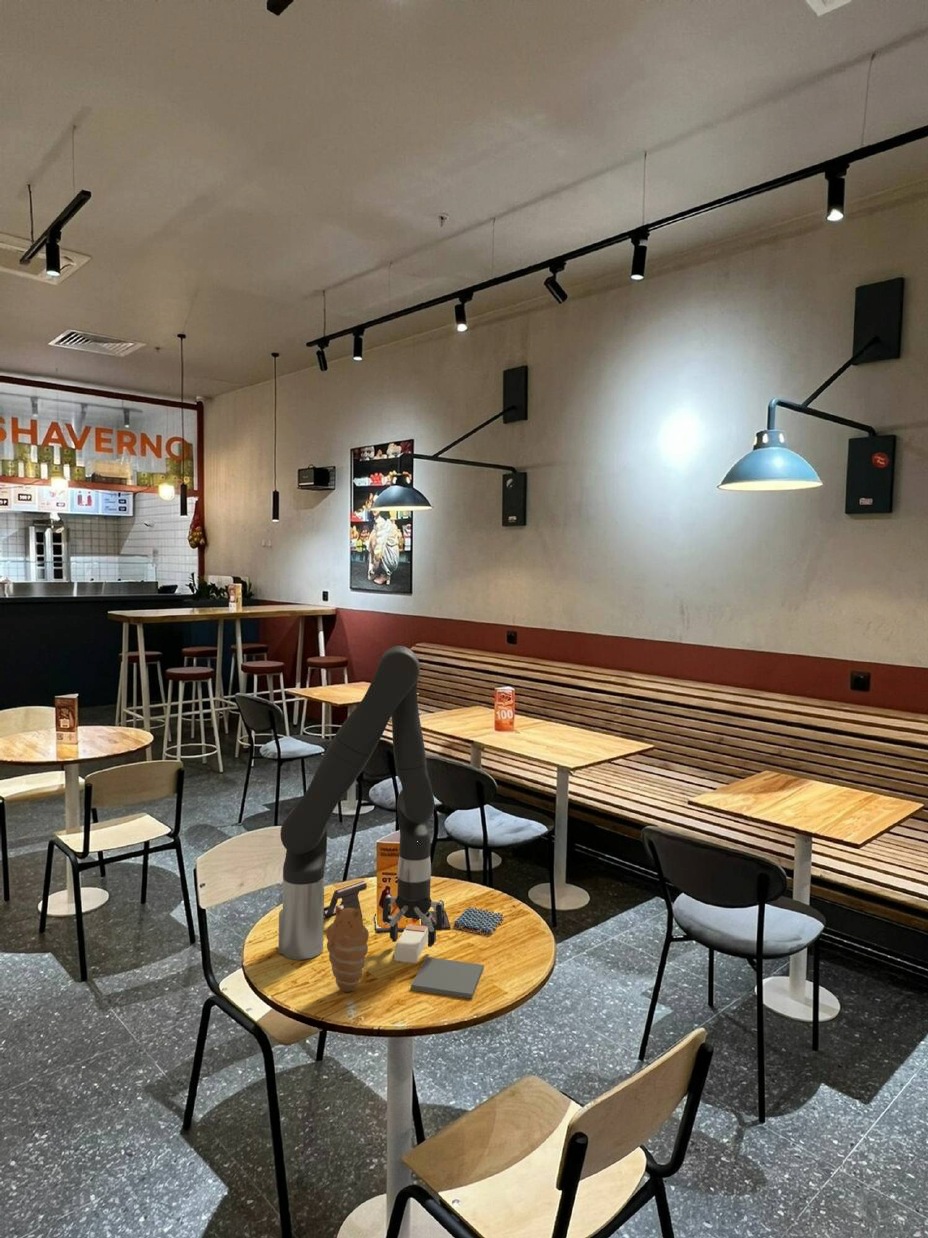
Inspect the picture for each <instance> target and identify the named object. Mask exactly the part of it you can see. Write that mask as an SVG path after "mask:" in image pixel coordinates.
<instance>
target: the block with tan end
mask: <svg viewBox="0 0 928 1238" xmlns="http://www.w3.org/2000/svg"><path fill="white" fill-rule="evenodd" d="M428 931H429V930H428V927H427V926H420V925H412V924H408V925H407V926H406V928H405V930H404V932H402V933H401V934H400V937H399V939H397V941H396V943H395V945H394V955H393V957H394V961H396V962H403V963H412V964H417V962H418V961H419V958H420V957H421V954H422V953H423V950H424V948H425V947H426V944H428Z"/></svg>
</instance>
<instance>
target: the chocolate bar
mask: <svg viewBox="0 0 928 1238" xmlns="http://www.w3.org/2000/svg"><path fill="white" fill-rule="evenodd" d="M429 911H430V910H429ZM430 913H431V914H432V917H433V919H434V920H435V922H437V919H436V912H435V911H434V910H433V911H432V910H431V911H430ZM376 914H377V913H374V921H375V922H376V923H375V932H376V934H382V933H390V928H381V927H379V926H378V925H377V920H376ZM444 921H445V924H444V926H443V927H442V929H441V930H440V931H442V930H451V924H450V921H449V917H448V914H447V912H446V910H444ZM420 926H426V925H425V924H424V923H423V922H422V920H421V925H420ZM404 930H405V928H398V933H401V932H402V933H403V932H404ZM428 931H429V929H428Z"/></svg>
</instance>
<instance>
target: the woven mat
mask: <svg viewBox="0 0 928 1238" xmlns="http://www.w3.org/2000/svg"><path fill="white" fill-rule="evenodd" d="M504 920H505V918H504V915H503V913H501V912H498V913H497V912H495V911H489V910H488V909H486V911H485V910H483V909H482V908H480V909H477V907H474V908H473V907H472V908H471V906H468V907H467V908H465V909H464V911H462V913H461V914H460V915H458V917H457V918H455V920H454V921H453V926H452V928H453V929H456V930H460V931H464V932H470V933H474V934H478V935H483V936H487V937H492V935H493V934H494V933H495V932H496V930H497V928H498V926H499V925H501V924H502V923H503V921H504ZM501 922H502V923H501Z"/></svg>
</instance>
